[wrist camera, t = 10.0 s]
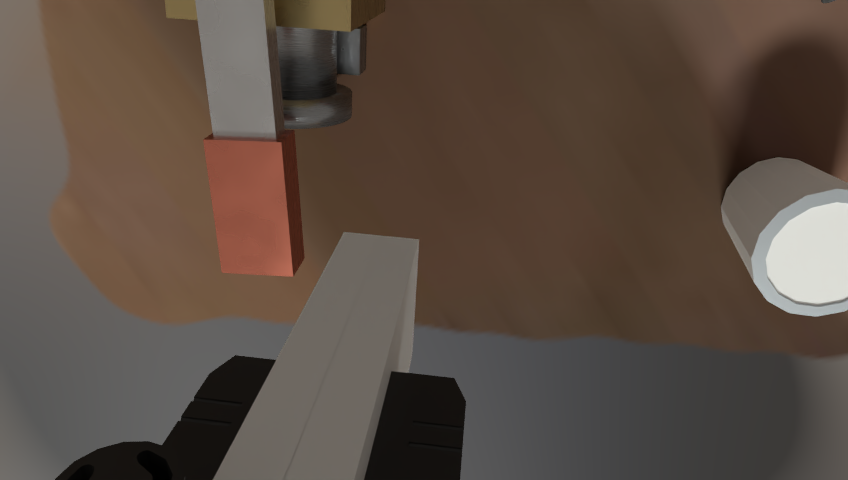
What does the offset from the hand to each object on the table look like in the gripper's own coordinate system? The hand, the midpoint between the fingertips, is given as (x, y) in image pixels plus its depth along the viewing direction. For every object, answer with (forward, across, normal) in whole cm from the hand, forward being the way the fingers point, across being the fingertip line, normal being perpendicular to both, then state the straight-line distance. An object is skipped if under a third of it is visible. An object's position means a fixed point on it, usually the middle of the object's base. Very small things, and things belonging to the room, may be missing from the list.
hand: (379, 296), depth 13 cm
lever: (+15, +8, -1) cm, 16 cm away
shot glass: (+26, -19, +6) cm, 32 cm away
